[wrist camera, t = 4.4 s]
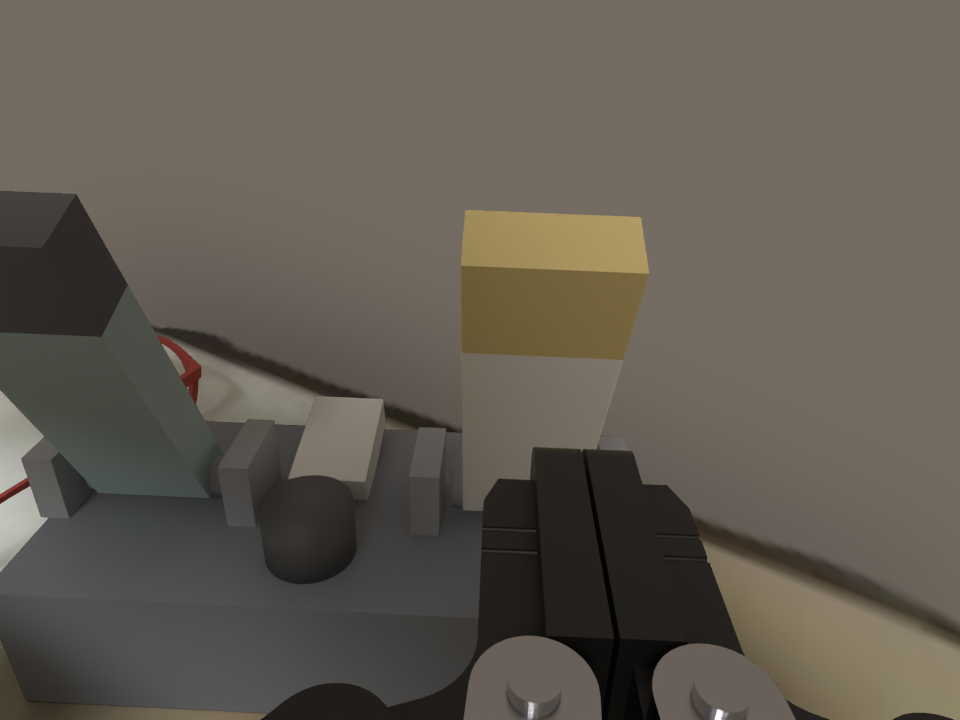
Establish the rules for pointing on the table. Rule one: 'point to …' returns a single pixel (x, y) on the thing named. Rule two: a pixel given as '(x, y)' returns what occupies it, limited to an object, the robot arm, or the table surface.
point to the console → (253, 572)
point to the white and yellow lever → (540, 336)
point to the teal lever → (93, 358)
